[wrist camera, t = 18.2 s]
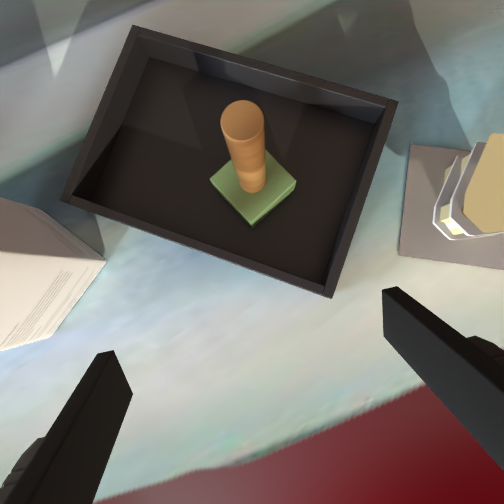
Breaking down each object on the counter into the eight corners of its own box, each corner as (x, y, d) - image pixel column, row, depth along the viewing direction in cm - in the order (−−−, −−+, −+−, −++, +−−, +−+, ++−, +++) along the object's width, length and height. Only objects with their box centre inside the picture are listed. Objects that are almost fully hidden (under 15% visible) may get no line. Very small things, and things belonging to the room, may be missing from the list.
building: (410, 144, 25) (449, 107, 20) (516, 156, 24) (588, 121, 19) (398, 255, 24) (435, 248, 19) (507, 270, 23) (580, 268, 18)
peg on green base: (215, 188, 25) (172, 119, 14) (256, 151, 25) (245, 54, 14) (252, 228, 25) (238, 189, 14) (294, 190, 25) (313, 120, 14)
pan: (83, 209, 26) (58, 200, 23) (147, 52, 28) (132, 24, 24) (324, 296, 24) (332, 299, 21) (383, 122, 25) (399, 101, 22)
